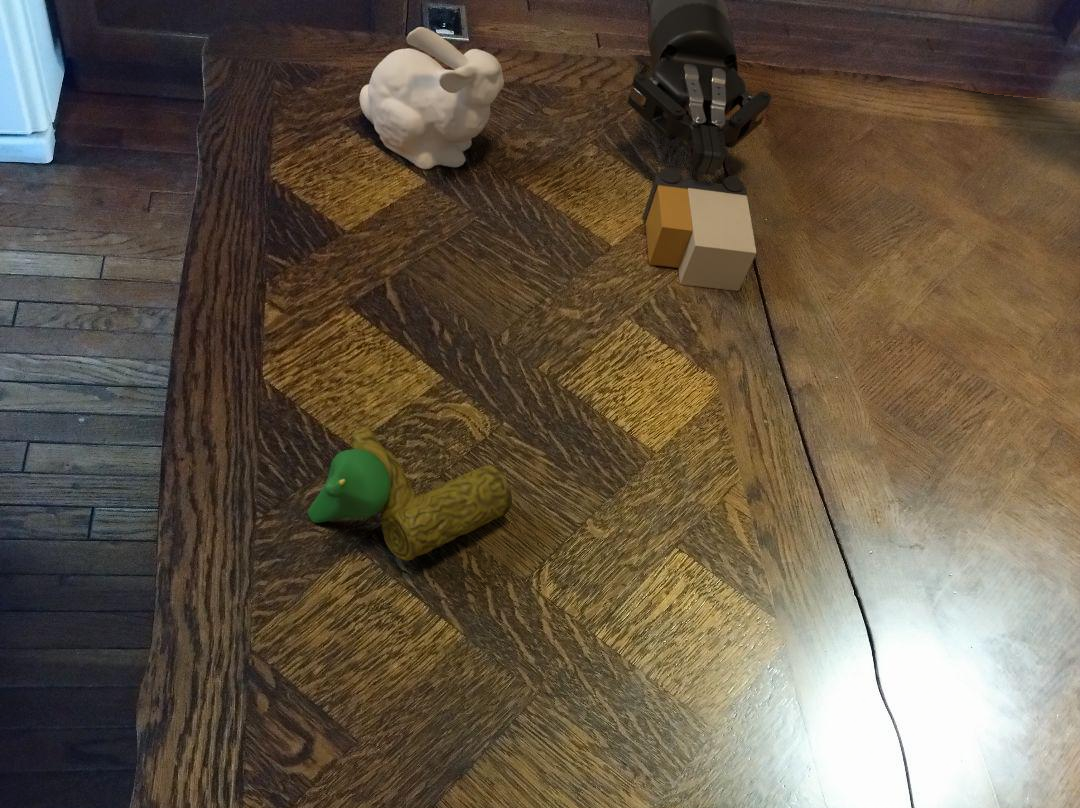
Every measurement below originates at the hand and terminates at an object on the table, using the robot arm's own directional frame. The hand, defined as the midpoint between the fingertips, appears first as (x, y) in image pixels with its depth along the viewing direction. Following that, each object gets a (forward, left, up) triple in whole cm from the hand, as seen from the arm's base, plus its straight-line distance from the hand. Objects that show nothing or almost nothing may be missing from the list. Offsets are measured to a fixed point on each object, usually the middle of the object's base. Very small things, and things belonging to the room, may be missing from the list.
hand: (709, 165), depth 82 cm
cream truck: (0, -2, -4) cm, 4 cm away
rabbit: (+21, -10, -7) cm, 24 cm away
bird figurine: (+29, +30, -7) cm, 43 cm away
